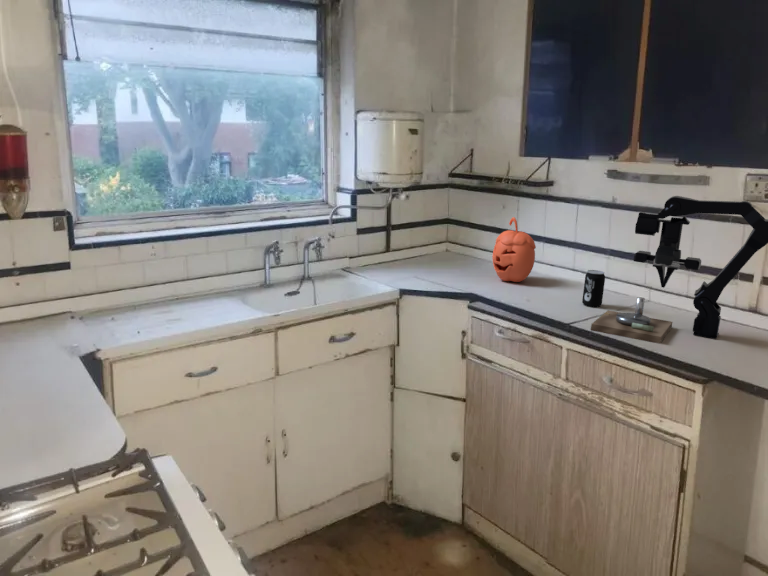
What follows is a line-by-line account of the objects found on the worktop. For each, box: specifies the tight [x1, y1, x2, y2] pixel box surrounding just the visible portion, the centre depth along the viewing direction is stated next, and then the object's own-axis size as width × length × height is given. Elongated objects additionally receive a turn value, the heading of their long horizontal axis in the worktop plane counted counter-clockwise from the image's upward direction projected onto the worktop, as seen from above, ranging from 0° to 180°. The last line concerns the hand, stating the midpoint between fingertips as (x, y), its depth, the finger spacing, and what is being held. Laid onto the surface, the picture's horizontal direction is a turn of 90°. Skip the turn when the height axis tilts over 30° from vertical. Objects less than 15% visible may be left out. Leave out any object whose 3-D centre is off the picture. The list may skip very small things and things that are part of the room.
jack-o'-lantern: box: [491, 216, 537, 283], centre depth 266 cm, size 18×17×25 cm
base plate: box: [590, 310, 673, 344], centre depth 210 cm, size 20×20×4 cm
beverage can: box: [582, 269, 606, 308], centre depth 235 cm, size 7×7×12 cm
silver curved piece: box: [616, 296, 651, 326], centre depth 211 cm, size 14×10×6 cm
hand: (663, 287), depth 211 cm, fingers closed
